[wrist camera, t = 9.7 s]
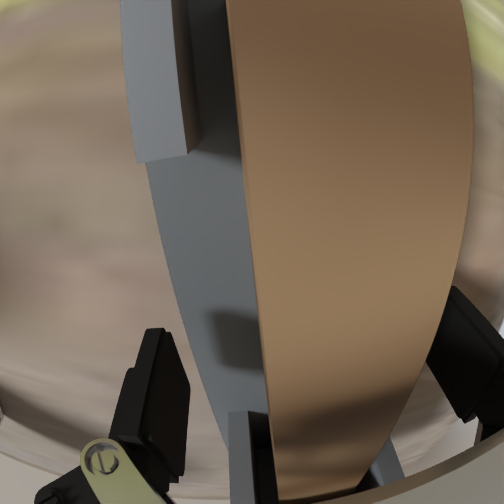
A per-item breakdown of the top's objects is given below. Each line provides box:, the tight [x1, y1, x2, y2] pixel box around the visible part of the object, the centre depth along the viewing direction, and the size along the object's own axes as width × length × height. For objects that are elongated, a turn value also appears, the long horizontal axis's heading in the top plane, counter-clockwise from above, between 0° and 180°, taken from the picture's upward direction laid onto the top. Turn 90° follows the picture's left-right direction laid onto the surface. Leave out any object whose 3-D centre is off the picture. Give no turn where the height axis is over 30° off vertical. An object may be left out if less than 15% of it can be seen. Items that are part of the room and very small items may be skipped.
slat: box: [224, 0, 474, 504], centre depth 8 cm, size 19×4×5 cm, turn 5°
